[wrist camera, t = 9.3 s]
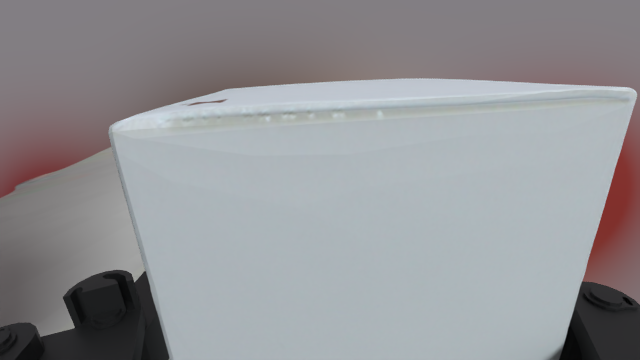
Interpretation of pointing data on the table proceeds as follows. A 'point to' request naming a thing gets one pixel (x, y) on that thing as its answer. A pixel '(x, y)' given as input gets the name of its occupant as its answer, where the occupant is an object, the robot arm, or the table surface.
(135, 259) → the table surface
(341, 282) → the supplement box
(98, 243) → the table surface
